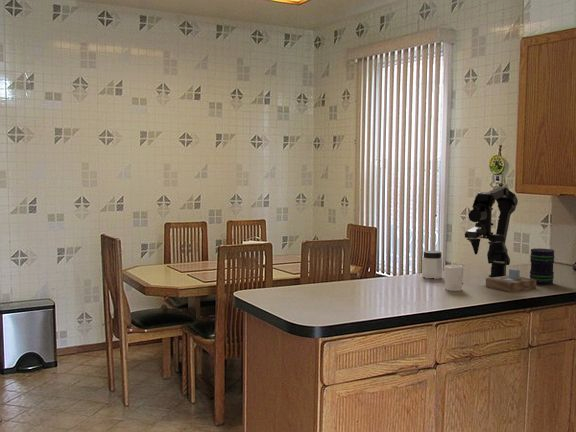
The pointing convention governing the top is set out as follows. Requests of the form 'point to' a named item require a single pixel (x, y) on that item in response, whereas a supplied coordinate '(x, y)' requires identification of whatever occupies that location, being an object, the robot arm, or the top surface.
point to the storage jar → (542, 266)
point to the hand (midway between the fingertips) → (483, 255)
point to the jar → (432, 264)
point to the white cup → (453, 277)
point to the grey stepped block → (513, 275)
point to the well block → (510, 284)
